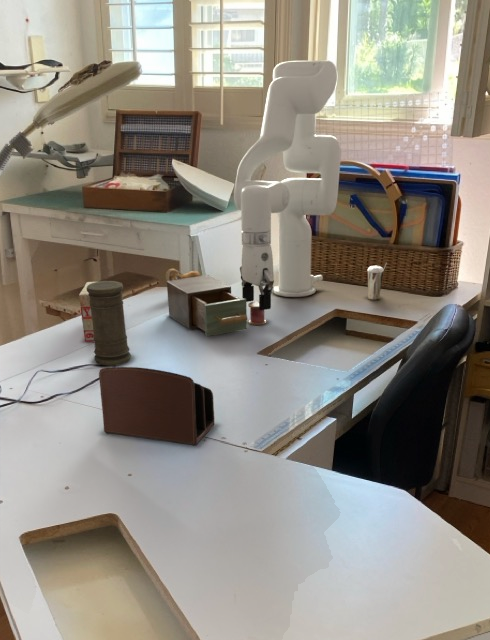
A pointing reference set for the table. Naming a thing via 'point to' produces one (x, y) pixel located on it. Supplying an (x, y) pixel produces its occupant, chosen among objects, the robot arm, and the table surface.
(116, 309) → the container
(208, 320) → the drawer
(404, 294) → the table surface
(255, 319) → the spool
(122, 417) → the letter holder
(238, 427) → the table surface
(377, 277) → the milkshake
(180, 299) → the cabinet
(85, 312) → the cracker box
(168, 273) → the lion figurine
